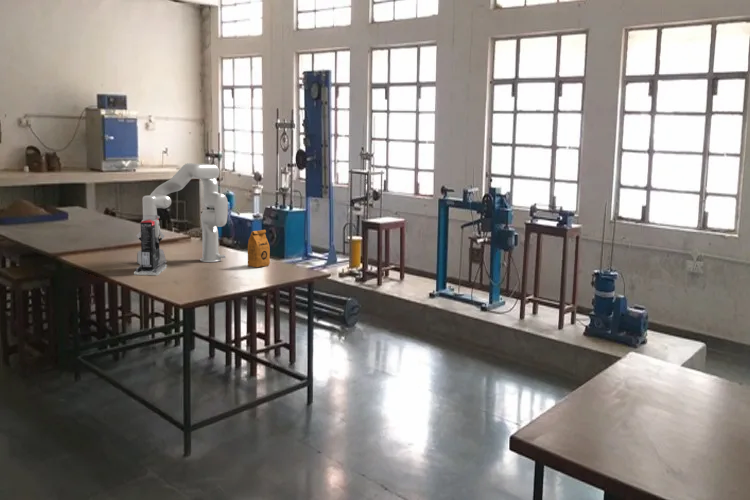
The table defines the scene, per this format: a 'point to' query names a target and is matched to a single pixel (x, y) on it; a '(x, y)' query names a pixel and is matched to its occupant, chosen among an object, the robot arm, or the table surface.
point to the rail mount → (150, 270)
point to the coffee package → (258, 249)
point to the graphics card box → (149, 245)
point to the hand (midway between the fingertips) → (150, 248)
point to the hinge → (139, 257)
